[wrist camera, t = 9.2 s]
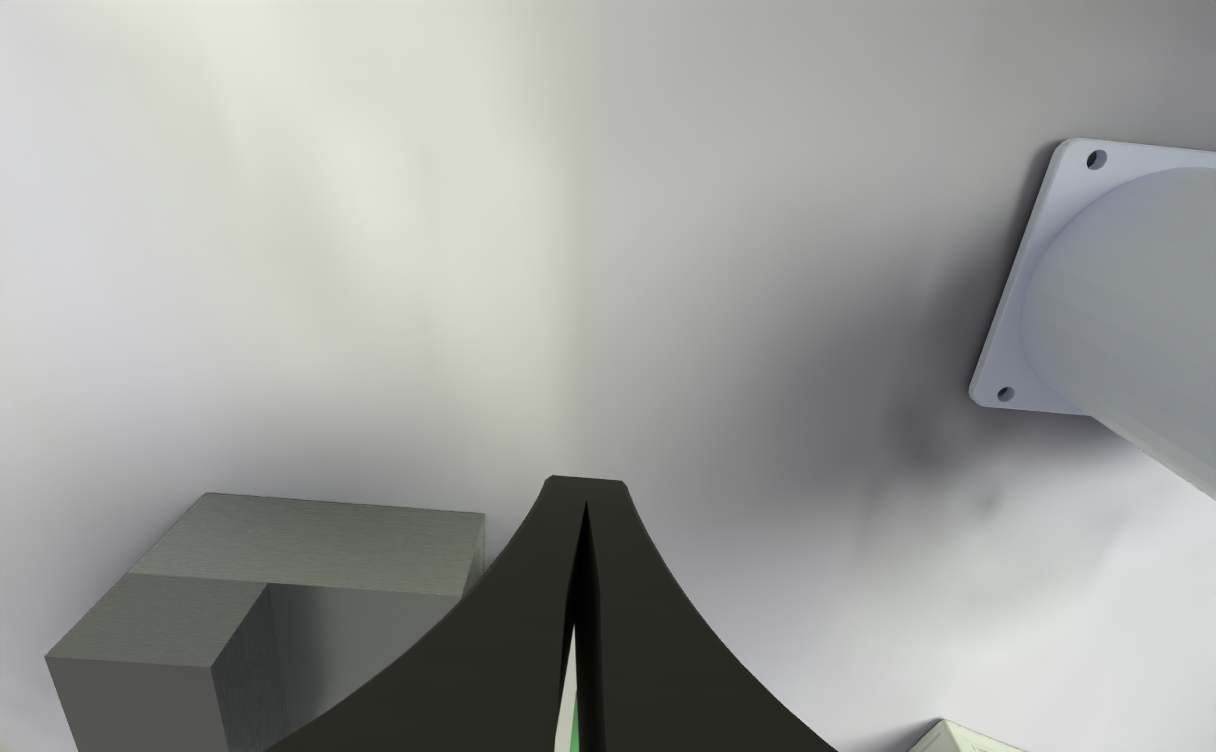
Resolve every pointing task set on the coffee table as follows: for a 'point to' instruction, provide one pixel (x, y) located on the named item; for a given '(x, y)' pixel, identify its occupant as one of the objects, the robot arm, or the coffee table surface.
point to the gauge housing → (258, 621)
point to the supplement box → (957, 740)
